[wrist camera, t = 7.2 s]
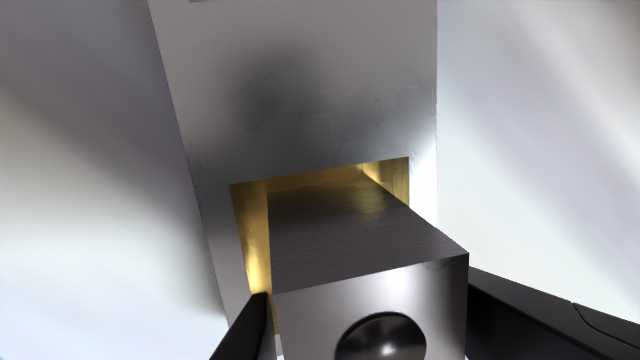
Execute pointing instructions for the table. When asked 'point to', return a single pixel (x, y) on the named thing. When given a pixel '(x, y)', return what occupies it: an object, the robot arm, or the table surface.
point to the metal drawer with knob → (363, 276)
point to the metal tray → (296, 112)
